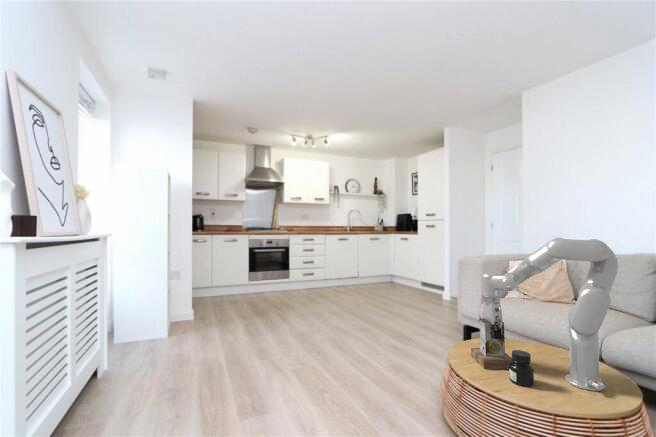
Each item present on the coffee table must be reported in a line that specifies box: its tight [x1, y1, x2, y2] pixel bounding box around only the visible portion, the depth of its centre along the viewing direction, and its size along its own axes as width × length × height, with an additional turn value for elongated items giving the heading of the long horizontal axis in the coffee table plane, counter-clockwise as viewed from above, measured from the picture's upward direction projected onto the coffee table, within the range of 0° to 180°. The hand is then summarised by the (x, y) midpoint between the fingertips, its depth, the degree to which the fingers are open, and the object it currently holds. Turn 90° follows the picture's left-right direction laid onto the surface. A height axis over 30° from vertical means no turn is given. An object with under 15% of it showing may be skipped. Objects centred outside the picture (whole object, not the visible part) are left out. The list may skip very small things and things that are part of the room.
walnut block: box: [470, 347, 512, 370], centre depth 151 cm, size 14×14×4 cm
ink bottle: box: [508, 349, 535, 388], centre depth 132 cm, size 10×9×12 cm
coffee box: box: [479, 318, 506, 356], centre depth 151 cm, size 9×6×16 cm
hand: (492, 335), depth 151 cm, fingers open, 9 cm apart
